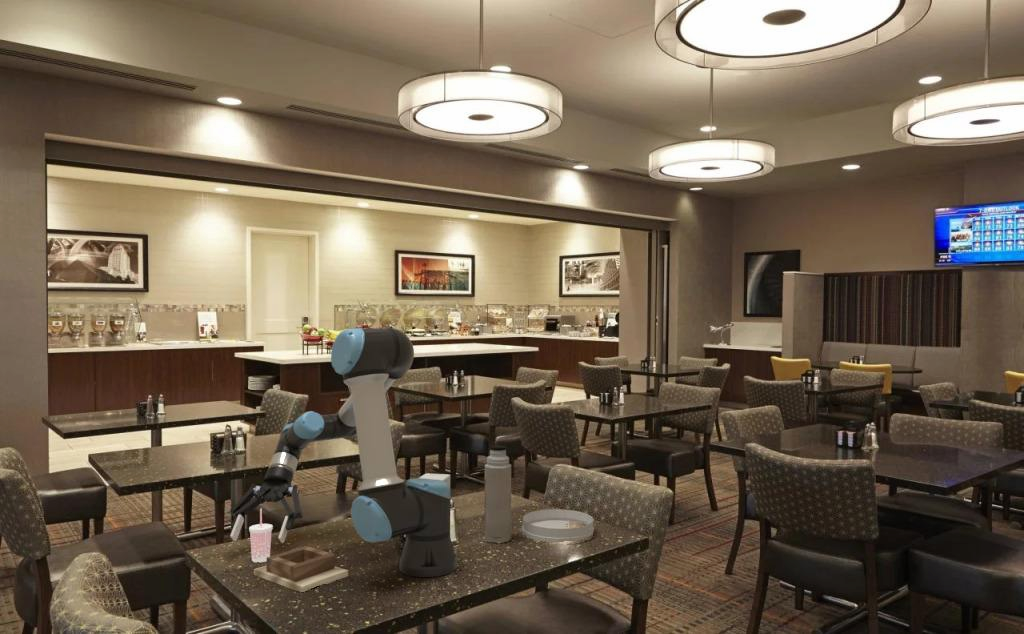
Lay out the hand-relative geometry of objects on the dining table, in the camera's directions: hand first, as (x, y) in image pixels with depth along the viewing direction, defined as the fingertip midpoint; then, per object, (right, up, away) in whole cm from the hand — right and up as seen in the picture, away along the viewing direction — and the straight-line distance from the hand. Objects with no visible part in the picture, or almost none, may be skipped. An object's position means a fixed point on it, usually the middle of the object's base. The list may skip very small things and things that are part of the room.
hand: (256, 539), depth 190 cm
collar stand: (+15, -6, -10) cm, 19 cm away
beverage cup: (0, -6, +2) cm, 7 cm away
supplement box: (+44, -7, +38) cm, 59 cm away
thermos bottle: (+65, -7, +20) cm, 68 cm away
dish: (+83, -7, +26) cm, 88 cm away
